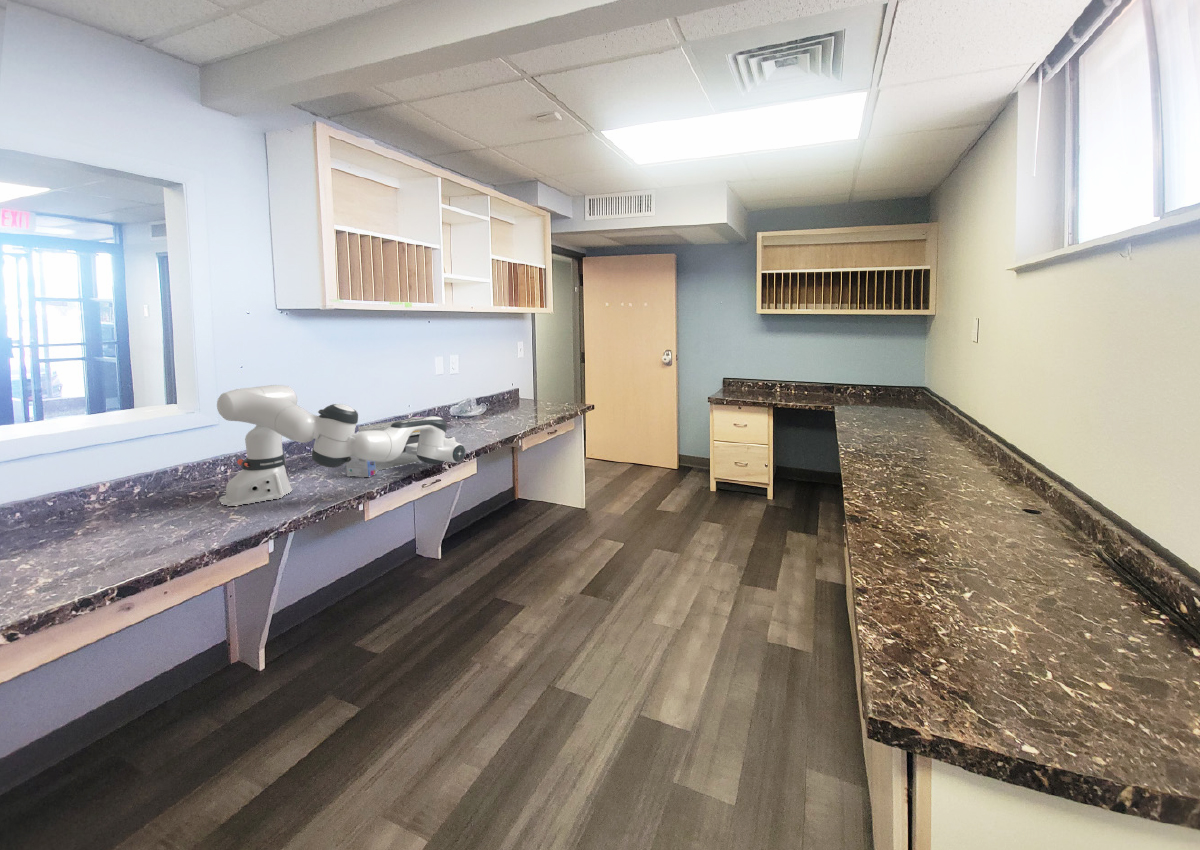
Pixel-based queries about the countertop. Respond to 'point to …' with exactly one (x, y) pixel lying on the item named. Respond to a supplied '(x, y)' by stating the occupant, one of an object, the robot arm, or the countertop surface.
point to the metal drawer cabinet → (403, 457)
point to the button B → (412, 439)
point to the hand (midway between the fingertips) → (420, 443)
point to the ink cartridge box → (360, 467)
